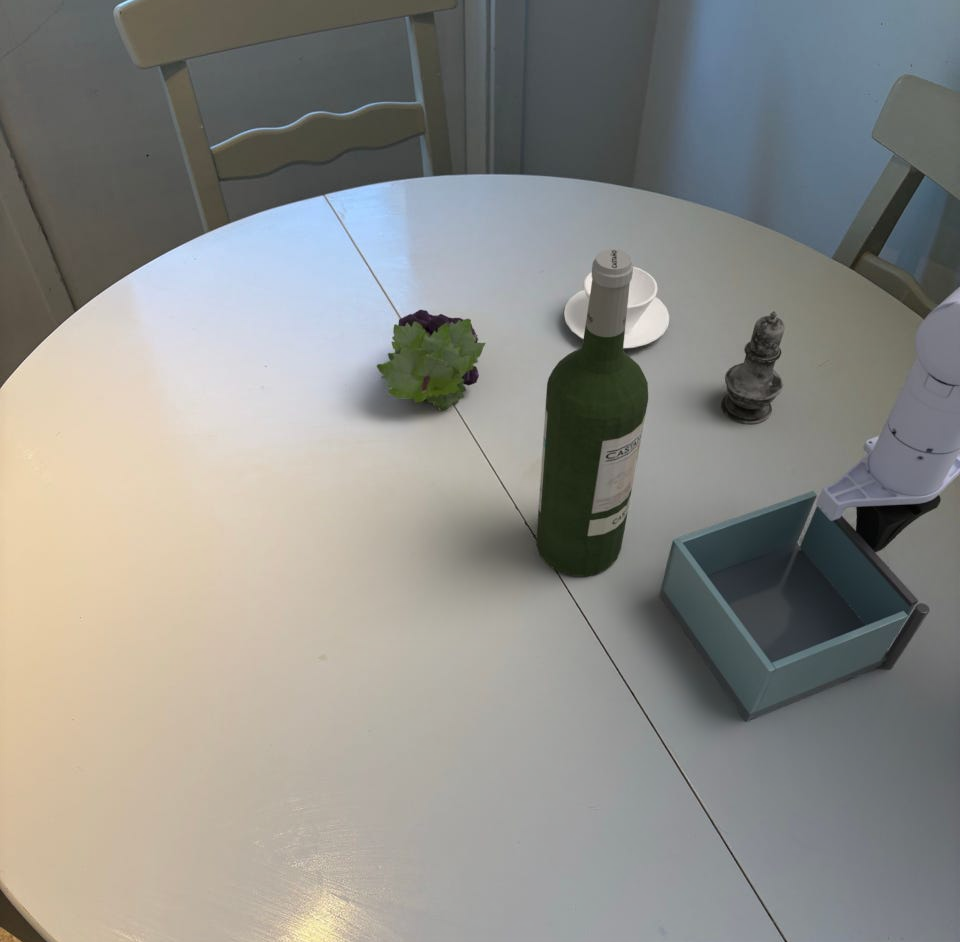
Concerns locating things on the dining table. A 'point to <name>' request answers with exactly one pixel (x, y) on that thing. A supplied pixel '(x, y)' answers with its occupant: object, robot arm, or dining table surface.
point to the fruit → (432, 359)
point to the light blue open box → (772, 611)
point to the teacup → (643, 310)
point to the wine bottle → (592, 433)
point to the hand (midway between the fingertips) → (867, 544)
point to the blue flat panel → (855, 569)
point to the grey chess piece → (755, 374)
